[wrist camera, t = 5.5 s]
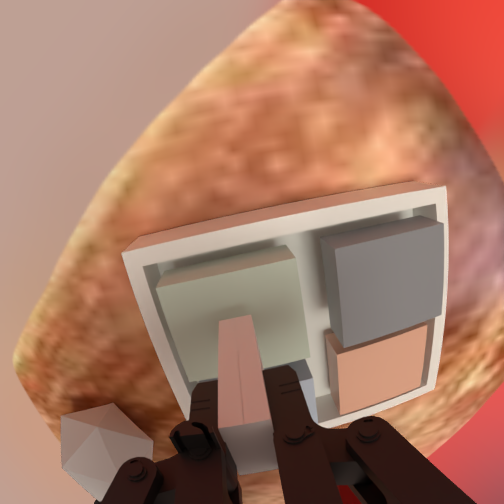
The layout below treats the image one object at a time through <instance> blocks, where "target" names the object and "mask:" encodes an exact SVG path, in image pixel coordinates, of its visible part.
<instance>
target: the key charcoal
mask: <svg viewBox="0 0 504 504" xmlns="http://www.w3.org/2000/svg"><path fill="white" fill-rule="evenodd" d="M320 244H321V251H322V259H323V267H324V274H325V283H326V291H327V300H328V309H329V319H330V327H331V329H332V330H333V332H334V333H335V335H336V337H337V338H338V340H339V341H340V343H341V345H342V346H343V348H346V347H350V346H353V345H356V344H359V343H363V342H366V341H369V340H372V339H375V338H378V337H381V336H385V335H388V334H390V333H393V332H396V331H399V330H402V329H405V328H408V327H410V326H413V325H416V324H419V323H421V322H424V321H427V320H429V319H432V318H435V317H437V316H440V315H441V314H442V301H443V284H444V223H442V222H439V221H436V220H433V219H430V218H427V217H424V216H421V215H419V216H414V217H409V218H405V219H400V220H396V221H391V222H386V223H382V224H377V225H373V226H368V227H363V228H359V229H354V230H350V231H345V232H340V233H336V234H331V235H327V236H322V237H320Z"/></svg>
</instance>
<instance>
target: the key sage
mask: <svg viewBox="0 0 504 504" xmlns="http://www.w3.org/2000/svg"><path fill="white" fill-rule="evenodd" d="M156 291H157V294H158V297H159V300H160V303H161V306H162V309H163V312H164V315H165V318H166V321H167V324H168V327H169V329H170V332H171V335H172V338H173V341H174V343H175V346H176V349H177V351H178V354H179V357H180V359H181V362H182V364H183V367H184V370H185V372H186V375H187V377H188V380H189V382H194V381H200V380H206V379H212V378H218V336H219V321H222V320H227V319H232V318H236V317H241V316H246V315H251V316H252V320H253V325H254V329H255V333H256V338H257V342H258V346H259V351H260V355H261V359H262V364H263V369H264V368H268V367H273V366H277V365H281V364H286V363H290V362H294V361H298V360H302V359H306V358H310V350H309V343H308V335H307V328H306V321H305V314H304V307H303V301H302V294H301V287H300V281H299V275H298V268H297V262H296V257H295V256H294V255H293V253H292V252H291V251H290V250H289V248H288V247H287V246H286V244H285V245H281V246H276V247H272V248H267V249H262V250H258V251H253V252H249V253H244V254H239V255H235V256H230V257H226V258H221V259H216V260H212V261H207V262H203V263H198V264H193V265H189V266H184V267H180V268H175V269H171V270H166V271H164V273H163V274H162V276H161V278H160V280H159V282H158V284H157V286H156Z"/></svg>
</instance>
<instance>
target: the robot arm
mask: <svg viewBox="0 0 504 504" xmlns="http://www.w3.org/2000/svg"><path fill="white" fill-rule="evenodd" d="M169 438H170V439H171V441H172V443H173V444H174V446H175V448H176V449H177V451H178V454H176V455H175V456H173V457H171V458H168V459H165V460H162V461H159V462H156V463H154V462H153V461H152V460H151V459H149V458H146V457H135V458H131V459H129V460H127V461H126V462H124V463H123V464H122V466H121V467H120V468H119V470H118V472H117V473H116V475H115V477H114V479H113V481H112V483H111V484H110V486H109V488H108V490H107V492H106V494H105V496H104V497H103V499H102V501H100V502H99V501H98V500H97V499H96V501H95V502H94V504H242V493H241V487H240V484H239V482H238V480H237V471H238V473H239V475H246V474H252V473H259V472H264V471H270V470H275V469H279V474H280V479H281V484H282V489H283V495H284V500H285V504H343V502H342V499H341V496H340V493H339V490H338V487H337V485H348V487H349V488H350V489H351V490H352V492H353V493H354V494H355V496H356V497H357V498H358V499H359V501H360V502H361V503H362V504H477V503H475V502H474V501H473V500H472V499H471V498H470V497H469V496H467V495H466V494H465V493H464V492H463V491H462V490H461V489H460V488H458V487H457V486H456V485H455V484H454V483H453V482H452V481H451V480H450V479H448V478H447V477H446V476H445V475H444V474H443V473H442V472H441V471H440V470H438V469H437V468H436V467H435V466H434V465H433V464H432V463H431V462H430V461H429V460H428V459H427V458H425V457H424V456H423V455H422V454H421V453H420V452H419V451H418V450H417V449H416V448H415V447H414V446H412V445H411V444H410V443H409V442H408V441H407V440H406V439H405V438H404V437H403V436H402V435H401V434H400V433H399V432H398V431H396V430H395V429H394V428H393V427H392V426H391V425H390V424H389V423H388V422H387V421H385V420H384V419H382V418H380V417H375V416H367V417H362V418H359V419H357V420H355V421H354V422H352V423H351V424H350V425H349V427H348V428H345V429H329V428H325V427H322V426H320V425H318V424H317V423H315V422H314V421H313V419H312V417H311V415H310V412H309V409H308V406H307V403H306V400H305V397H304V394H303V391H302V388H301V385H300V382H299V379H298V376H297V373H296V371H295V370H294V369H292V368H291V367H290V366H289V365H285V366H280V367H276V368H271V369H267V370H264V369H263V364H262V359H261V355H260V351H259V346H258V342H257V338H256V333H255V329H254V325H253V320H252V316H251V315H246V316H241V317H236V318H232V319H227V320H222V321H219V336H218V380H214V381H208V382H202V383H197V385H196V387H195V388H194V390H193V391H192V394H191V404H190V414H189V420H187V421H184V422H182V423H180V424H178V425H177V426H176V427H175V428H174V429H173V430H172V431H171V433H170V436H169Z"/></svg>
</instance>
